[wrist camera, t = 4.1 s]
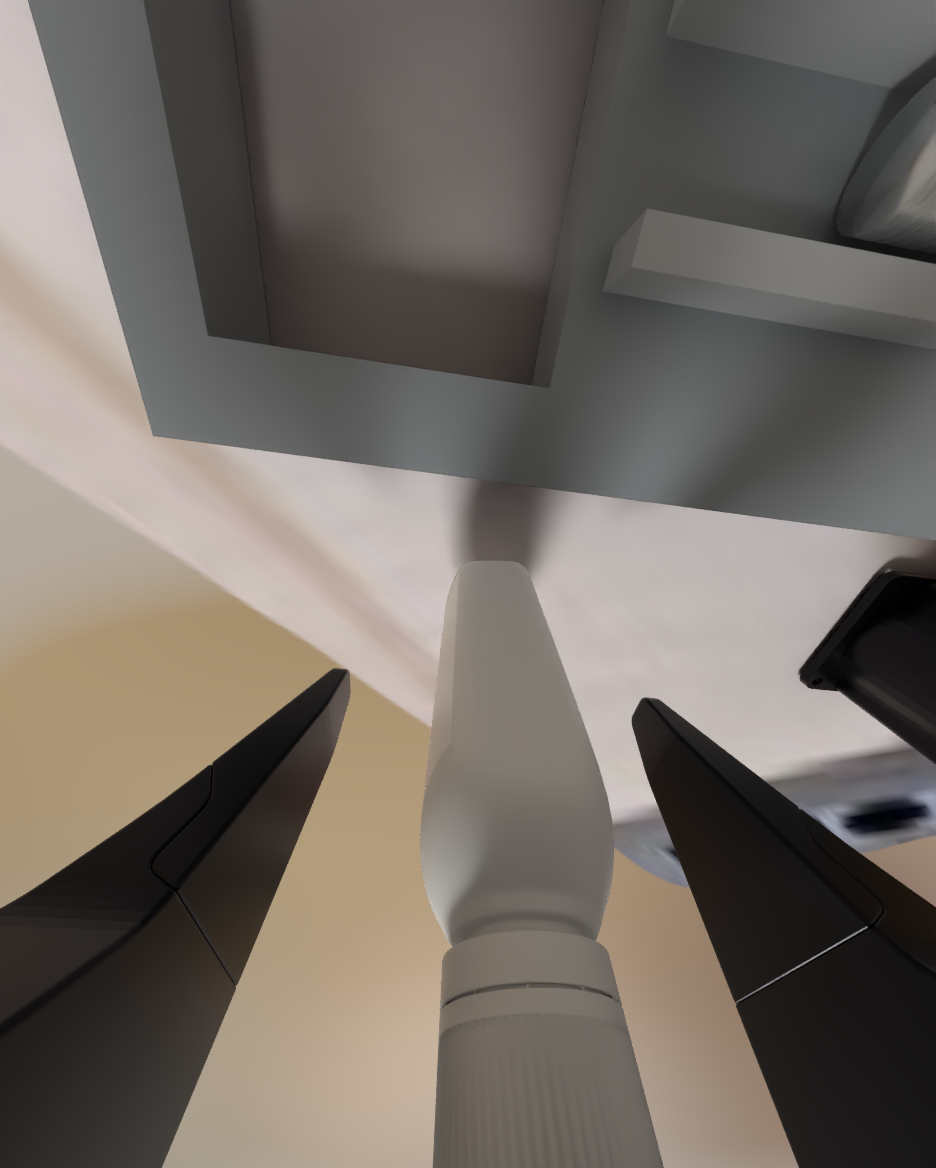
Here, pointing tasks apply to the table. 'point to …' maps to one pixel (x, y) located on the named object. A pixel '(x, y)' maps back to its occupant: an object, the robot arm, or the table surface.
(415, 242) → the table surface
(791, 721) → the table surface
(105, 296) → the table surface
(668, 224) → the dock block
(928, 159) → the lock pin
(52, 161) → the table surface
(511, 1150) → the eye dropper bottle
